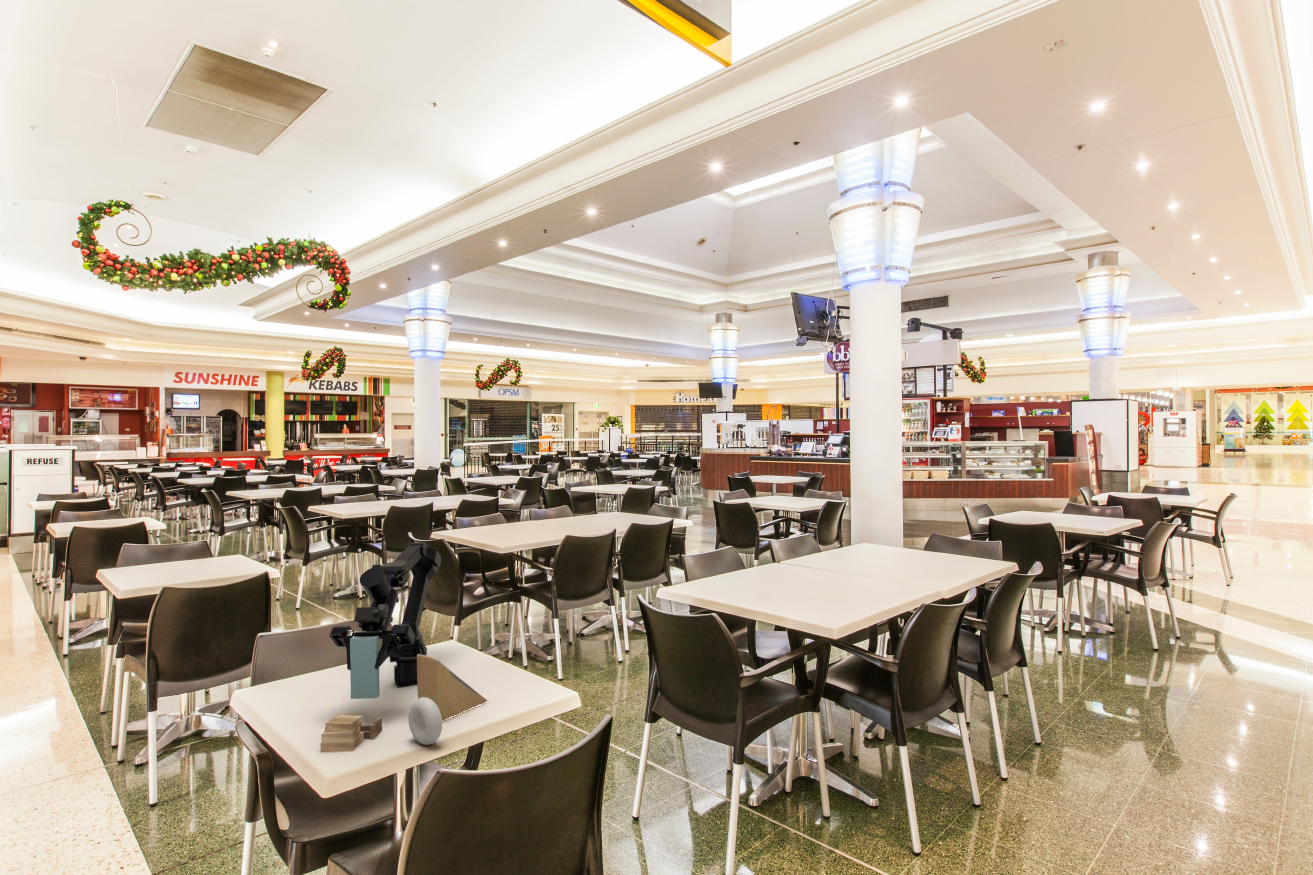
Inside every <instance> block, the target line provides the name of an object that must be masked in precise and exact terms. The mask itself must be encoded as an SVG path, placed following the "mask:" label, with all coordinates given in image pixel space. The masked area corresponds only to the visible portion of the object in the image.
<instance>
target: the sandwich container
mask: <svg viewBox="0 0 1313 875" xmlns="http://www.w3.org/2000/svg"><path fill="white" fill-rule="evenodd" d="M416 685H417V699H419V698H421V697H426V698H429V699H431V700H433V701H434V702H435V704H436V705H437V706H438V708H439V710H440V713H441V716H442V720H444V721H446V720H445V719H447V718H449V717H451V716H454V715H457V714H459V713H461V712H463V711H465V710H468V709H470V708H472V707H475V706H477V705H479V704H482V703H484V702H486V701H489V700H488V699H486V698H485V697H484V696H483V695H482V694H480V692H477V690H475V689H474V688H472V687H471V686H470V685H469V684H468V683H466V682H465V681H464V680H463V679H461V678H460V677H459V676H458V675H457V674H455V673H454V672H453V671H451V669H450V668H448V667H447V666H446V665H444V664H443V663H442V661H440V660H438V659H437V658H434V657H431V656H429V655H426V656H425V655H421V654H417V684H416ZM457 716H458V715H457ZM447 720H448V719H447Z"/></svg>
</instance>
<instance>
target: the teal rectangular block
mask: <svg viewBox="0 0 1313 875" xmlns="http://www.w3.org/2000/svg"><path fill="white" fill-rule="evenodd" d="M379 651H380V639H379V636H362V637H352V638H351V639H350V670H349V671H350V672H349V673H350V674H349V675H350V700H358V699H359V700H361V699H363V700H364V699H377V698H378V697H380V696H381V695H380V694H381V692H380V690H381V689H380V688H381V684H380V681H381V680H380V679H381V678H380V667H379V668H378V669H375V663H376V660H377V657H378V654H379Z"/></svg>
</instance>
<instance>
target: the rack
mask: <svg viewBox="0 0 1313 875" xmlns="http://www.w3.org/2000/svg"><path fill="white" fill-rule="evenodd" d="M325 730H326V726H325V727H324V731H325ZM382 731H383V717H381V716H380V717H378V718H377V719H375V721H373V722H372V723H371V724H362V725H361V726H360V732H364V740H375V739H376V738H377V737H378V736H379V735H380V734H381V733H382Z"/></svg>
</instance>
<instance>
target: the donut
mask: <svg viewBox="0 0 1313 875" xmlns="http://www.w3.org/2000/svg"><path fill="white" fill-rule="evenodd" d="M407 718H408V726H409V730H410V732H411V734H412V737H413V738H414V739H415V741H417V742H418V743H420V744H421V745H424V744H425V746H426V745H427V744H430V745H431V744H435V742H437V740H438V739H439V738H440V736H441V734H442V730H443V721H442V716H441V713H440V710H439V708H438V706H437V705H436V704H435V702H434V701H433V700H431V699H429V698H426V697H421V698H419V699H418V698H416V700H414V701H413V702H412V704H410V706H409V710H408V717H407ZM427 746H428V745H427Z"/></svg>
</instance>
